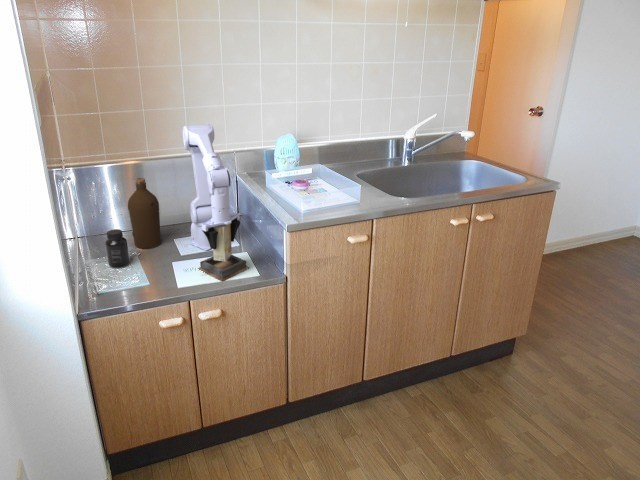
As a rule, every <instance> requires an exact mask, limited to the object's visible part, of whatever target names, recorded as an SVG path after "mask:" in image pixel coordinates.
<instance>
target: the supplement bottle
mask: <svg viewBox="0 0 640 480" xmlns="http://www.w3.org/2000/svg"><path fill="white" fill-rule="evenodd" d="M106 237H107V238H106V240H105V242H104V244H105V252H106V257H107V264H108V266H109V267H110V268H112V269H121V268H125V267H127V266H129V264H130V254H129V247H128V240H127V238H125V237H124V235H123V230H122V229H119V228H118V229H116V228H115V229H110V230H108V231H107V232H106Z"/></svg>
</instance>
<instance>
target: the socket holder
mask: <svg viewBox="0 0 640 480" xmlns="http://www.w3.org/2000/svg"><path fill="white" fill-rule="evenodd" d="M199 263H200V265H199V267H198V268H197V270H198V269H199V270H201V271H203V272H202V273H204V272H205V273H204V274H206V275H208V276H210V277H212V278H214V279H216V280H218V281H220V282H224V281H226V280H228V279H229V280H230V279H231V278H233V277H234V276H237V275H239V274H241V273H243V272H245V271H247V270H249V269H250V267H249V266H248V265H247V260H245V259H243V258H240V257H238V256H236V255H234V254H232V255H231V256H230V257H229V258H228V259H227V260H226V261H217V260H214V255H212V256H210V257H208V258H206V259H204V260H201V261H200V262H199ZM199 270H198V271H199ZM201 271H200V272H201Z"/></svg>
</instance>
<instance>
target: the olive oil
mask: <svg viewBox="0 0 640 480" xmlns="http://www.w3.org/2000/svg"><path fill="white" fill-rule="evenodd" d="M135 186H136V187H135V188H136V189H135V191H134V192H133V193H132V194H131V196H130V197H129V198H128V201H127V210H128V215H129V216H128V217H129V219H130V225H131V226H130V227H131V231H132V237H133V241H134V242H133V244H134V246H135V247H136V248H138V249H142V250H143V249H145V250H147V249H155V248H156V247H158V246H160V245H161V244H162V235H161V221H160V220H161V219H160V218H161V216H160V204H159V200H158V198H157V196H156V195H154V193H152V192H151V191H150V190H148V189H147V183H146V179H145V177H138V178H135Z"/></svg>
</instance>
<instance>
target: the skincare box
mask: <svg viewBox="0 0 640 480" xmlns="http://www.w3.org/2000/svg"><path fill="white" fill-rule="evenodd" d="M214 229H215V231H218V234H217V240H216V242H217V247H216V249H212V252H213V255H212V256H214V260H217V261H226V260H227V259H228V258H229V257H230V256H231V255H233V254H232V253H233V251H232V249H233V248H232V242H231V224H228V225H226V224H224V225H218V226H215V227H214Z"/></svg>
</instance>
